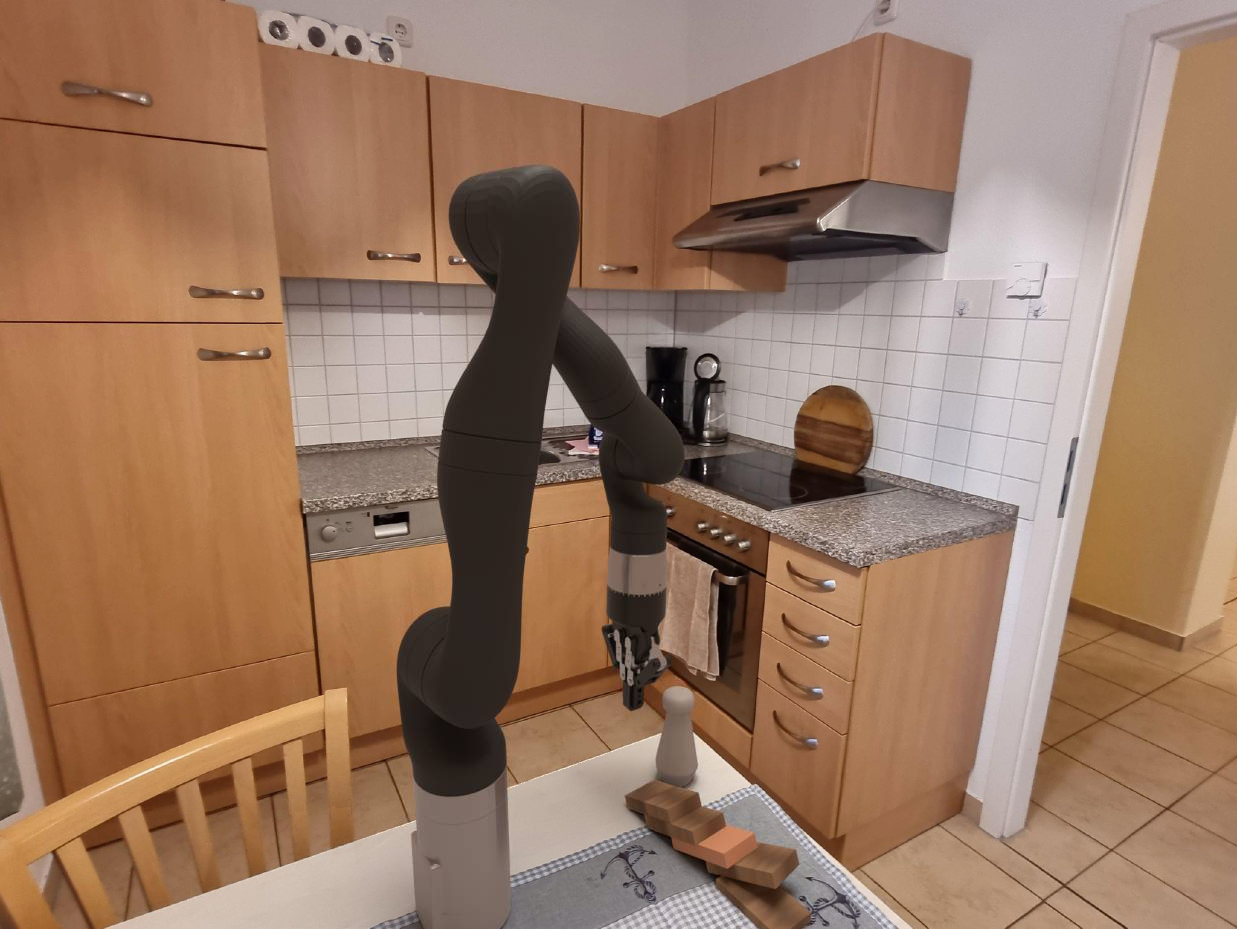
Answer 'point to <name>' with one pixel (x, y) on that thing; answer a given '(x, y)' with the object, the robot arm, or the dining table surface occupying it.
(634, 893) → the dining table surface
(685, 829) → the domino
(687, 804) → the domino
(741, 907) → the domino
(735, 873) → the domino
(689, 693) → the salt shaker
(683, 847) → the domino
